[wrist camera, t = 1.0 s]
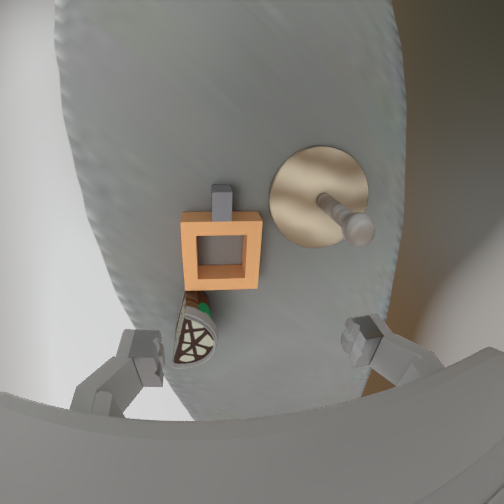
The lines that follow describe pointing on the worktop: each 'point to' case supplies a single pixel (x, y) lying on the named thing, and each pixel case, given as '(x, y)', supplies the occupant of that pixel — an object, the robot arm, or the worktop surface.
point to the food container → (194, 331)
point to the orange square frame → (221, 224)
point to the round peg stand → (321, 199)
